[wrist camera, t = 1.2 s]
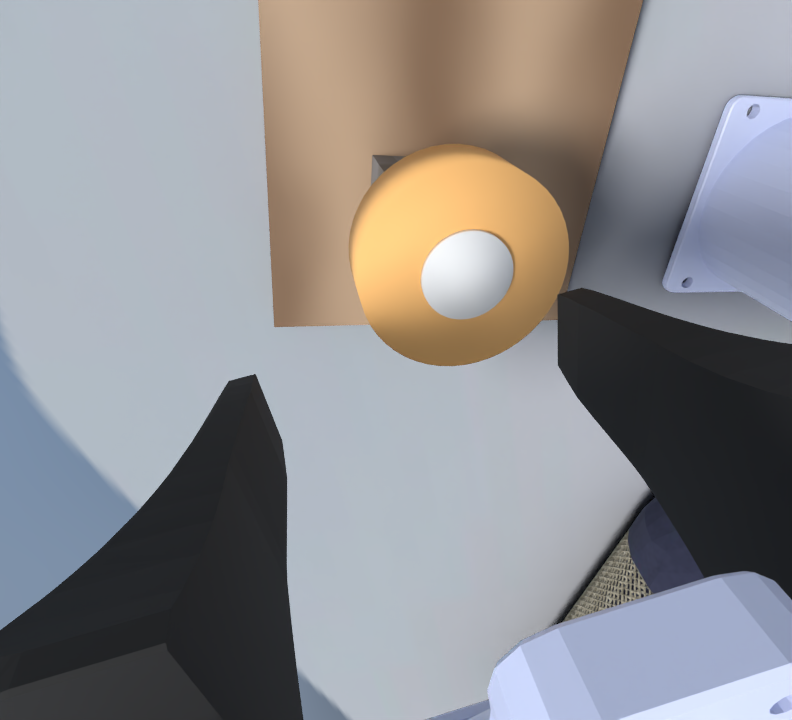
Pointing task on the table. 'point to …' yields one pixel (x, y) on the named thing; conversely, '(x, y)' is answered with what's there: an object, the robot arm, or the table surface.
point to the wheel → (456, 254)
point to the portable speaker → (640, 565)
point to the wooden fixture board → (423, 115)
